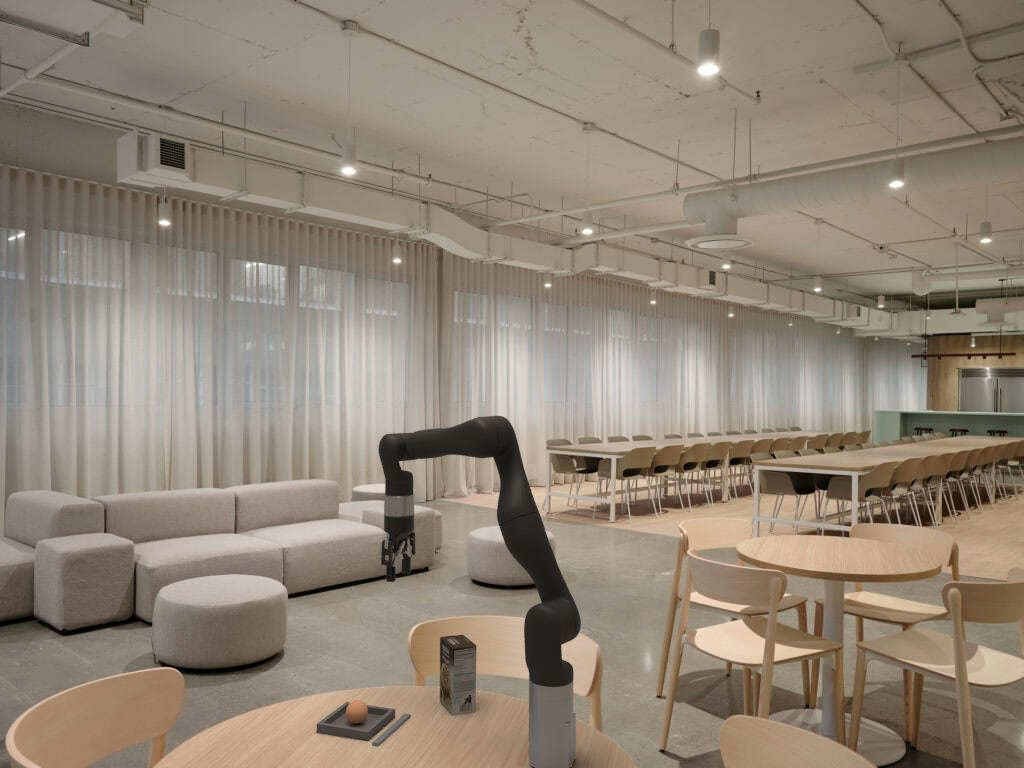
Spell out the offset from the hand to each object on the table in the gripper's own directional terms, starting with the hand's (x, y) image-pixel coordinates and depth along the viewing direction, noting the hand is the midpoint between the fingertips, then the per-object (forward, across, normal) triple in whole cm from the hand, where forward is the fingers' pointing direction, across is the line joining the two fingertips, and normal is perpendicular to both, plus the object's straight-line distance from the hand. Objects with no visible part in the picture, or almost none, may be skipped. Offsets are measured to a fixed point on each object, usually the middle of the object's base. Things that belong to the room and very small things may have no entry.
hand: (398, 577), depth 193 cm
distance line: (+30, -17, -7) cm, 35 cm away
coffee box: (+30, 0, -16) cm, 34 cm away
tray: (+30, -17, +2) cm, 35 cm away
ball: (+27, -17, +2) cm, 32 cm away
